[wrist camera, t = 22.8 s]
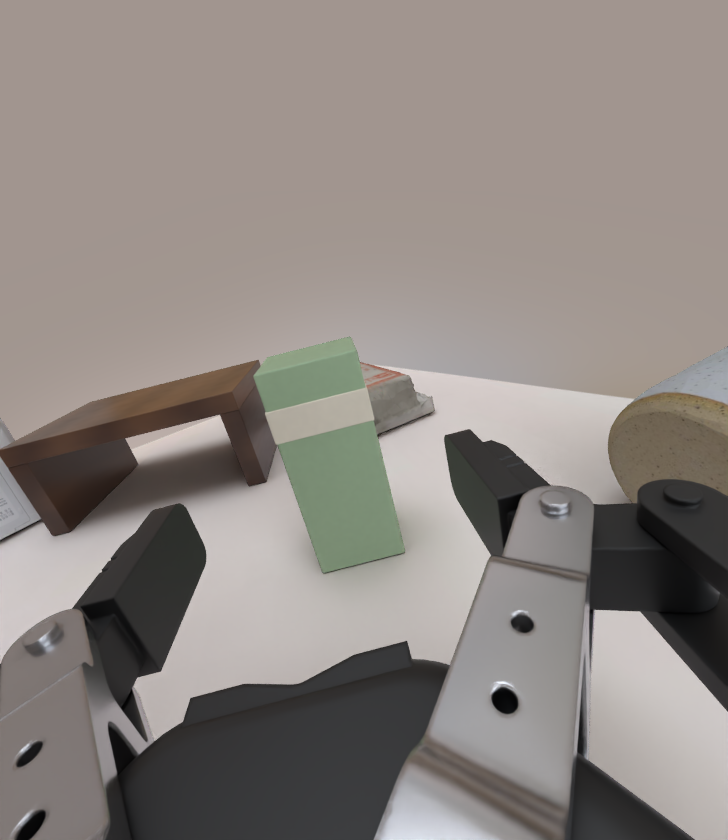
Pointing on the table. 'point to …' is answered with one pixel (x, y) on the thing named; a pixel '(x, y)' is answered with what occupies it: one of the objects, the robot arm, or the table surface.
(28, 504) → the photo printer
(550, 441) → the table surface
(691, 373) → the ceramic mug
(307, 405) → the box
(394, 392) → the packaged product
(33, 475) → the shelf stand
